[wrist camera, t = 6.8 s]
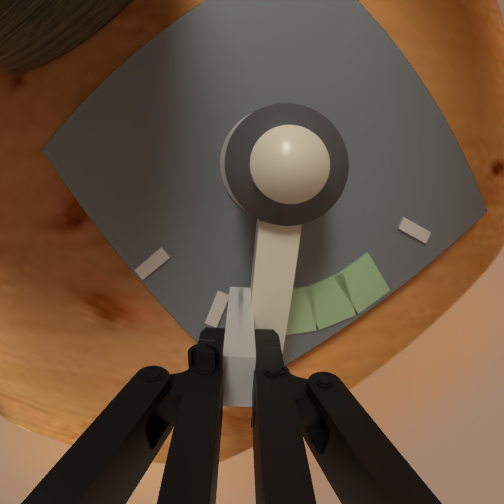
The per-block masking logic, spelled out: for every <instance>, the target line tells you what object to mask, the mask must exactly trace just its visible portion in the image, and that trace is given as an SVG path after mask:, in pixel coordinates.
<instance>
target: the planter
mask: <svg viewBox="0 0 504 504" xmlns="http://www.w3.org/2000/svg"><path fill="white" fill-rule="evenodd" d="M131 1H132V0H0V74H15V73H21V72H25V71H28V70H31V69H34V68H37V67H39V66H42V65H44V64H46V63H48V62H50V61H52V60H54V59H56V58H58V57H59V56H61V55H63V54H64V53H66V52H68V51H69V50H71V49H72V48H74V47H75V46H77V45H78V44H80V43H81V42H83V41H84V40H86V39H87V38H88V37H90V36H91V35H92V34H94V33H95V32H96V31H97V30H99V29H100V28H101V27H102V26H104V25H105V24H106V23H107V22H109V21H110V20H111V19H112V18H113V17H114V16H116V15H117V14H118V13H119V12H120V11H121V10H122V9H123V8H124V7H125V6H127V5H128V4H129V3H130V2H131Z"/></svg>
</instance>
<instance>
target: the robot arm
mask: <svg viewBox="0 0 504 504" xmlns="http://www.w3.org/2000/svg"><path fill="white" fill-rule="evenodd" d="M250 300H251V288H246V287H230V291H229V300H228V309H227V318H226V327H225V328H211V327H206V328H205V329H204V330H202V331H201V332H200V336H199V340H198V344H196V345H194V346H192V347H190V349H189V350H188V362H189V369H188V370H187V371H184V372H182V373H177V374H169V372H168V371H167V370H166V369H164V368H162V367H159V366H147V367H145V368H142V369H141V370H139V371H138V372H137V373H136V374H135V375H134V376H133V378H132V379H131V380H130V381H129V382H128V383H127V384H126V385H125V387H124V388H123V389H122V390H121V391H120V392H119V393H118V394H117V396H116V397H115V398H114V399H113V400H112V401H111V402H110V403H109V405H108V406H107V407H106V408H105V409H104V410H103V411H102V412H101V414H100V415H99V416H98V417H97V418H96V419H95V420H94V421H93V423H92V424H91V425H90V426H89V427H88V428H87V429H86V430H85V432H84V433H83V434H82V435H81V436H80V437H79V438H78V440H77V441H76V442H75V443H74V444H73V445H72V446H71V447H70V449H69V450H68V451H67V452H66V453H65V454H64V455H63V457H62V458H61V459H60V460H59V461H58V462H57V463H56V465H55V466H54V467H53V468H52V469H51V470H50V471H49V472H48V474H47V475H46V476H45V477H44V478H43V479H42V480H41V482H40V483H39V484H38V485H37V486H36V487H35V488H34V489H33V491H32V492H31V493H30V494H29V495H28V496H27V497H26V499H25V500H24V501H23V502H22V503H21V504H126V502H127V501H128V499H129V498H130V496H131V494H132V493H133V491H134V490H135V488H136V487H137V485H138V483H139V482H140V480H141V479H142V477H143V475H144V474H145V472H146V471H147V469H148V468H149V466H150V464H151V463H152V461H153V460H154V458H155V456H156V455H157V453H158V451H159V450H160V448H161V447H162V445H163V443H164V442H165V440H166V438H167V437H168V435H169V434H170V432H171V430H172V429H173V427H174V430H173V434H172V439H171V443H170V447H169V451H168V456H167V460H166V465H165V469H164V473H163V478H162V483H161V487H160V492H159V496H158V501H157V504H216V490H217V477H218V464H219V452H220V439H221V427H222V416H223V406H234V407H252V408H253V410H252V421H251V427H252V428H253V450H254V472H255V493H256V504H316V500H315V495H314V490H313V485H312V480H311V475H310V470H309V465H308V460H307V455H306V450H305V445H304V440H303V437H304V439H305V441H306V443H307V444H308V446H309V448H310V450H311V452H312V453H313V455H314V457H315V459H316V460H317V462H318V464H319V466H320V467H321V469H322V471H323V472H324V474H325V476H326V478H327V480H328V481H329V483H330V484H331V486H332V488H333V490H334V491H335V493H336V495H337V496H338V498H339V500H340V502H341V503H342V504H442V503H441V502H440V501H439V500H438V499H437V497H436V496H435V495H434V494H433V493H432V491H431V490H430V489H429V488H428V487H427V485H426V484H425V483H424V482H423V481H422V479H421V478H420V477H419V476H418V474H417V473H416V472H415V471H414V470H413V468H412V467H411V466H410V465H409V463H408V462H407V461H406V460H405V459H404V457H403V456H402V455H401V454H400V453H399V451H398V450H397V449H396V448H395V446H393V444H392V443H391V442H390V440H389V439H388V438H387V437H386V435H384V433H383V432H382V431H381V429H380V428H379V427H378V426H377V424H376V423H375V422H374V421H373V419H372V418H371V417H370V416H369V414H368V413H367V412H366V411H365V410H364V408H363V407H362V406H361V405H360V403H359V402H358V401H357V400H356V398H355V397H354V396H353V395H352V393H351V392H350V391H349V390H348V389H347V387H346V386H345V385H344V384H343V382H342V381H341V380H340V379H339V378H338V377H337V376H336V375H334V374H331V373H328V372H317V373H314V374H312V375H311V376H310V377H309V379H304V378H299V377H296V376H294V375H292V374H290V372H289V370H288V368H287V367H285V366H284V361H283V355H282V350H281V345H280V339H279V335H278V334H277V333H276V332H275V331H274V330H273V329H254V314H250ZM174 425H175V426H174Z"/></svg>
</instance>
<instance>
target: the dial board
mask: <svg viewBox="0 0 504 504" xmlns="http://www.w3.org/2000/svg"><path fill="white" fill-rule="evenodd" d="M278 103H294V104H299V105H303V106H306V107H309V108H311V109H313V110H316V111H317V112H319V113H321V114H322V115H324V116H325V117H326V118H327V119H328V120H329V121H331V123H332V124H333V125H334V126H335V127H336V128H337V130H338V131H339V133H340V134H341V136H342V138H343V140H344V143H345V146H346V148H347V153H348V159H349V173H348V178H347V182H346V185H345V188H344V190H343V192H342V194H341V196H340V198H339V199H338V201H337V202H336V203H335V204H334V206H333V207H332V208H331V209H330V210H329V211H327V212H326V213H325V214H323V215H322V216H321V217H319V218H317V219H315V220H313V221H311V222H308V223H305V224H301V225H302V226H301V234H300V242H299V249H298V257H297V264H296V271H295V278H294V285H293V291H292V298H291V304H290V311H289V317H288V323H287V329H286V336H285V341H284V347H283V353H282V355H283V361H284V366H285V365H286V364H288V363H290V362H291V361H293V360H295V359H296V358H298V357H300V356H301V355H303V354H304V353H306V352H308V351H309V350H311V349H312V348H314V347H316V346H317V345H319V344H320V343H322V342H323V341H325V340H326V339H328V338H329V337H331V336H332V335H334V334H335V333H337V332H338V331H340V330H341V329H343V328H344V327H346V326H347V325H349V324H350V323H352V322H353V321H355V320H356V319H357V318H359V317H360V316H362V315H363V314H364V313H366V312H367V311H369V310H370V309H371V308H373V307H374V306H375V305H377V304H378V303H380V302H381V301H382V300H384V299H385V298H386V297H388V296H389V295H390V294H392V293H393V292H394V291H396V290H397V289H398V288H399V287H401V286H402V285H403V284H405V283H406V282H407V281H408V280H410V279H411V278H412V277H413V276H415V275H416V274H417V273H418V272H420V271H421V270H422V269H423V268H424V267H426V266H427V265H428V264H429V263H430V262H432V261H433V260H434V259H435V258H436V257H438V256H439V255H440V254H441V253H442V252H443V251H445V250H446V249H447V248H448V247H449V246H450V245H451V244H453V243H454V242H455V241H456V240H457V239H458V238H459V237H460V236H461V235H463V234H464V233H465V232H466V231H467V230H468V229H469V228H470V227H471V226H472V225H473V224H474V223H476V222H477V221H478V220H479V219H480V218H481V217H482V216H483V215H484V214H485V213H486V212H487V209H486V206H485V203H484V201H483V198H482V195H481V193H480V190H479V188H478V185H477V183H476V181H475V178H474V176H473V174H472V171H471V169H470V167H469V165H468V163H467V160H466V158H465V156H464V154H463V152H462V150H461V148H460V146H459V144H458V142H457V140H456V138H455V136H454V134H453V132H452V130H451V129H450V127H449V125H448V123H447V121H446V119H445V118H444V116H443V114H442V112H441V111H440V109H439V107H438V106H437V104H436V102H435V101H434V99H433V97H432V96H431V94H430V93H429V91H428V89H427V88H426V86H425V85H424V83H423V82H422V80H421V79H420V77H419V76H418V74H417V73H416V71H415V70H414V68H413V67H412V66H411V64H410V63H409V61H408V60H407V59H406V57H405V56H404V55H403V53H402V52H401V51H400V49H399V48H398V47H397V45H396V44H395V43H394V42H393V40H392V39H391V38H390V37H389V35H388V34H387V33H386V32H385V30H384V29H383V28H382V27H381V26H380V25H379V23H378V22H377V21H376V20H375V19H374V18H373V16H372V15H371V14H370V13H369V12H368V11H367V10H366V9H365V8H364V7H363V5H362V4H361V3H360V2H359V1H358V0H206V1H204V2H203V3H201V4H200V5H198V6H197V7H195V8H194V9H192V10H191V11H189V12H188V13H186V14H185V15H183V16H182V17H180V18H179V19H177V20H176V21H175V22H173V23H172V24H170V25H169V26H168V27H166V28H165V29H164V30H162V31H161V32H160V33H158V34H157V35H156V36H154V37H153V38H152V39H151V40H149V41H148V42H147V43H146V44H144V45H143V46H142V47H141V48H140V49H138V50H137V51H136V52H135V53H134V54H132V55H131V56H130V57H129V58H128V59H127V60H126V61H124V62H123V63H122V64H121V65H120V66H119V67H118V68H117V69H116V70H114V71H113V72H112V73H111V74H110V75H109V76H108V77H107V78H106V79H105V80H104V81H103V82H102V83H101V84H100V85H99V86H98V87H97V88H96V89H95V90H94V91H93V92H92V93H91V94H90V95H89V96H88V97H87V98H86V99H85V100H84V101H83V102H82V103H81V104H80V106H79V107H78V108H77V109H76V110H75V111H74V112H73V113H72V114H71V115H70V117H69V118H68V119H67V120H66V121H65V122H64V124H63V125H62V126H61V127H60V128H59V129H58V131H57V132H56V133H55V134H54V136H53V137H52V138H51V139H50V141H49V142H48V143H47V144H46V146H45V147H44V148H43V149H42V150H43V152H44V153H45V155H46V157H47V158H48V160H49V161H50V163H51V164H52V166H53V167H54V169H55V170H56V172H57V173H58V175H59V176H60V178H61V179H62V180H63V182H64V183H65V185H66V186H67V188H68V189H69V190H70V192H71V193H72V195H73V196H74V197H75V199H76V200H77V202H78V203H79V204H80V206H81V207H82V208H83V210H84V211H85V213H86V214H87V215H88V217H89V218H90V219H91V221H92V222H93V223H94V224H95V226H96V227H97V228H98V230H99V231H100V232H101V234H102V235H103V236H104V237H105V239H106V240H107V241H108V242H109V244H110V245H111V246H112V247H113V249H114V250H115V251H116V252H117V254H118V255H119V256H120V257H121V259H122V260H123V261H124V262H125V263H126V265H127V266H128V267H129V268H130V269H131V271H132V272H133V273H134V274H135V275H136V276H137V278H138V279H139V280H140V281H141V282H142V283H143V285H144V286H145V287H146V288H147V289H148V290H149V291H150V293H151V294H152V295H153V296H154V297H155V298H156V299H157V300H158V302H159V303H160V304H161V305H162V306H163V307H164V308H165V309H166V310H167V311H168V313H169V314H170V315H171V316H172V317H173V318H174V319H175V320H176V321H177V322H178V323H179V324H180V325H181V326H182V327H183V329H184V330H185V331H186V332H187V333H188V334H189V335H190V336H191V337H192V338H193V339H194V340H195V341H196V342H197V343H198V340H199V336H200V332H201V331H202V330H204V329H205V328H206V327H211V328H225V327H226V318H227V309H228V300H229V291H230V287H246V288H250V286H251V276H252V265H253V255H254V244H255V234H256V223H257V218H256V217H255V216H253V215H251V214H250V213H249V212H248V211H246V210H245V209H244V208H243V207H242V206H241V205H240V204H239V202H238V201H237V200H236V198H235V197H234V195H233V193H232V192H231V190H230V187H229V185H228V182H227V178H226V174H225V154H226V149H227V145H228V142H229V140H230V138H231V135H232V134H233V132H234V131H235V129H236V128H237V126H238V125H239V124H240V123H241V122H242V121H243V120H244V119H245V118H246V117H247V116H248V115H250V114H251V113H253V112H254V111H256V110H258V109H260V108H263V107H265V106H268V105H273V104H278Z"/></svg>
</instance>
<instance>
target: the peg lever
mask: <svg viewBox="0 0 504 504" xmlns="http://www.w3.org/2000/svg"><path fill="white" fill-rule="evenodd" d="M348 173H349V159H348V153H347V148H346V146H345V143H344V140H343V138H342V136H341V134H340V133H339V131H338V130H337V128H336V127H335V126H334V125H333V124H332V123H331V121H329V120H328V119H327V118H326V117H325V116H324V115H322V114H321V113H319V112H317V111H316V110H313V109H311V108H309V107H306V106H303V105H299V104H294V103H278V104H273V105H268V106H265V107H263V108H260V109H258V110H256V111H254V112H253V113H251V114H250V115H248V116H247V117H246V118H245V119H244V120H243V121H242V122H241V123H240V124H239V125H238V126H237V128H236V129H235V131H234V132H233V134H232V135H231V138H230V140H229V142H228V145H227V149H226V154H225V174H226V178H227V182H228V185H229V187H230V190H231V192H232V193H233V195H234V197H235V198H236V200H237V201H238V202H239V204H240V205H241V206H242V207H243V208H244V209H245V210H246V211H248V212H249V213H250V214H251V215H253V216H255V217H256V218H257V223H256V234H255V244H254V255H253V265H252V276H251V286H250V288H251V300H250V314H254V329H273V330H274V331H275V332H276V333H277V334H278V335H279V339H280V345H281V350H282V353H283V347H284V341H285V336H286V329H287V323H288V317H289V311H290V304H291V298H292V291H293V285H294V278H295V271H296V264H297V257H298V249H299V242H300V234H301V226H302V225H301V224H305V223H308V222H311V221H313V220H315V219H317V218H319V217H321V216H322V215H323V214H325V213H326V212H327V211H329V210H330V209H331V208H332V207H333V206H334V204H335V203H336V202H337V201H338V199H339V198H340V196H341V194H342V192H343V190H344V188H345V185H346V182H347V178H348Z"/></svg>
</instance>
